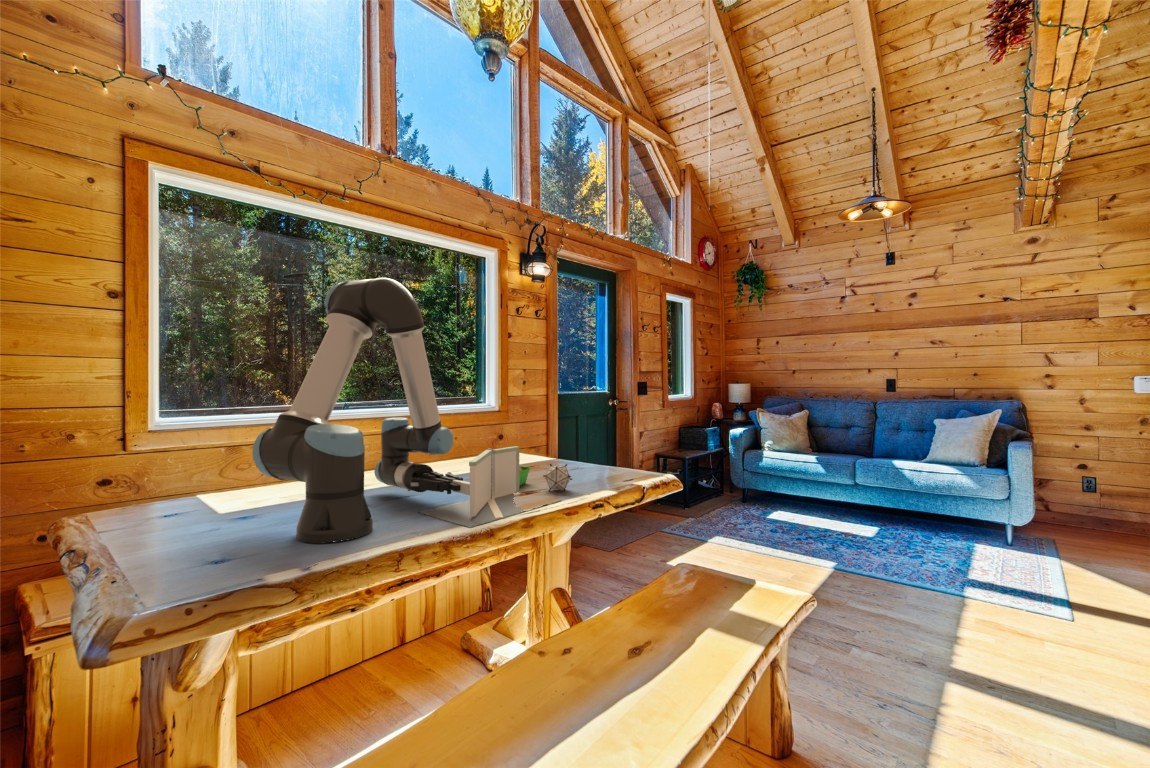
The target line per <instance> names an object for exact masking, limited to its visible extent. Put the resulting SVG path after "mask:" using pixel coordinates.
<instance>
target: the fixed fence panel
mask: <svg viewBox="0 0 1150 768" xmlns="http://www.w3.org/2000/svg"><path fill="white" fill-rule="evenodd" d="M519 466H520V446H517V445H514V446H508V447H500V448H496V449H495V448H494V449H492V496H493V497H497V496H501V495H505V494H509V493H513V492H520V486H519Z"/></svg>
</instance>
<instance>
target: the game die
mask: <svg viewBox="0 0 1150 768" xmlns="http://www.w3.org/2000/svg"><path fill="white" fill-rule="evenodd" d="M549 466H550V467H549V469H548V471H547V472H546V474H543V475H542V477H543V478H544V479H545V480H546V483H547V485H548V488H549V489H548V490H549V492H551V490H559V491H560V490H563V491H564V492H565V491H566V492H567V489H566V488H567V486H568V484H569V482H570V481H572V480H573V478H572V476H571V475H570V474H569V472H568V469H567V468H568V467H567V466H568V463H566V464H565V465H552V463H549Z"/></svg>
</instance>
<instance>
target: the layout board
mask: <svg viewBox="0 0 1150 768" xmlns="http://www.w3.org/2000/svg"><path fill="white" fill-rule="evenodd" d="M513 493H517V492H513ZM513 493H509V494H505V495H501V496H497V497H493V496H492V498H490V499H489V500H488V502H487V503H486V504H485V505H484V506H483V507H482V509H481V510H480V511H479V512H478V513H477V515H476V516H475V517H470V499H466V500H464V501H458V502H456V503H451V504H446V505H442V506H438V507H437V506H436V507H434V508H429V509H426V510H425V509H424V510H421V511H419V512H420V513H419V514H421V513H422V515H424V514H426V515H425V516H428V517H431V516H432V518H434V517H435V519H437V520H441V521H446V522H448V523H452V524H455V525H459V526H463V527H465V528H469V529H471V528H475V527H478V526H482V525H485V524H488V523H491V522H495V521H499V520H502V519H506V518H509V517H512V515H513V516H515V514H516V515H518V514H517V513H519V514H522V513H521V511H522V512H523V510H522V509H523V508H522V509H521V507H518V508H517V507H515V506H516V504H515V502H514V501H513V500H514V499H513V498H514V497H515V496H514V494H513ZM558 501H560V502H562V499H557V500H556V501H553V504H556V503H559V502H558ZM513 502H514V503H513ZM555 502H556V503H555ZM514 505H515V506H514ZM516 508H517V509H516ZM523 513H524V512H523Z"/></svg>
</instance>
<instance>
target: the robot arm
mask: <svg viewBox="0 0 1150 768" xmlns="http://www.w3.org/2000/svg"><path fill="white" fill-rule="evenodd" d="M324 306H325V313H326V317H325V320H326V322H327V324H328V328H327V330H326V333H325V335H324V337H323V338H322V340H321V343H320V344H319V348H318V349H317V352H316V354H315V355H314V357H313V360H312V362H311V364H310V366H309V368H308V370H307V373H306V375H305V377H304V379H303V381H302V384H301V385H300V388H299V390H298V391H297V394H296V396H295V398H294V400H293V401H292V404H291V406H290V409H289V410H286V411H284V412H282V413H280V414H279V415H278V417H277V419H276V421H275V423H274V425H273V426H271V427H269V428H267V429H265V430H263V431H262V432H260V433H259V435H257V436H256V438H255V440H254V442H253V446H252V451H251V452H252V453H251V454H252V459H253V460H252V461H254V464H255V466H256V468H257V470H258V471H259V472H260V473H262V475H265V476H266V477H268V478H273V479H277V480H278V481H279V480H280V481H293V482H294V481H295V482H301V483H305V502H304V505H303V508H302V510H301V513H300V516H299V520H298V522H297V526H296V539H297V540H298V541H300V540H301V541H300V542H302V541H304V542H303V543H307V542H311V543H310V544H323V543H322V542H333V541H341V540H346V541H348V540H347V539H351V540H353V539H352V538H355V539H357V538H356V537H358V538H360V537H359V536H361V537H364V536H366V535H368V534H369V533H371V532H372V530H373V529H374V527H373V525H374V524H373V523H374V522H373V517H372V514H371V511H370V508H369V505H368V503H367V499H366V497H365V454H366V453H365V452H366V446H365V442H364V434H363V432H362V431H361V430H360V429H359V428H357V427H354V426H350V425H344V424H333V423H328V422H329V419H330V417H331V415H332V412H333V410H334V408H335V406H336V403H337V401H338V399H339V396H340V394H341V391H342V390H343V387H344V384H346V383H345V382H346V381H347V379H348V376H349V373H350V371H351V369H352V367H353V364H354V362H355V360H356V357H357V356H358V355H357V354H358V353H359V351H360V348H361V345H362V343H363V341H364V340H367V339H370V338H371V337H372V336H373V334H374V332H375V329H376V327H377V325H383V326H384V329H385V334H386V335H387V336H389V337H390V338H391V340H392V343H393V349H394V352H395V357H396V361H397V366H398V370H399V375H400V377H401V382H402V385H403V390H404V395H405V399H406V403H407V407H408V412H409V415H410V420H411V424H412V425H411V424H410V420H409V419H408V418H407V417H387V418H384V419H383V420H382V421H381V430H380V437H381V439H380V441H381V443H380V444H381V446H380V447H381V457H380V459H379V460H378V461H377V463H376V465H375V467H374V476H375V479H377V480H378V481H379V482H380V483H383V484H385V485H387V486H391V487H392V486H393V487H397V488H400V489H401V488H402V489H404V490H405V489H406V491H407V492H410V491H413V492H417V493H424V492H426V491H430V492H436V493H437V492H439V493H443V492H445V491H446V494H447V495H451V494H452V492H454V493H458V494H464V495H467V496H470V481H465V480H464V478H463V477H462V476H459V475H456V474H453V473H452V472H450V471H448V472H446V473H445V475H444V474H443V473H439V472H437V471H434V470H433V468H432V467H431V466H430V465H428V464H424V463H419V462H413V461H410V453H415V454H417V453H418V454H427V455H434V456H435V455H445V454H448V453H449V452H450V451H451V449H452V447H453V444H454V434H453V432H452V431H451V429H450V428H448V427H445V426H442V422H441V421H442V420H441V417H440V413H439V407H438V403H437V398H436V394H435V390H434V384H433V381H432V380H433V378H432V375H431V371H430V366H429V362H428V361H429V360H428V356H427V351H426V347H425V342H424V337H423V333H422V332H423V331H424V329H425V323H424V318H423V314H422V312H421V310H420V307H419V305H418V302H417V300H416V299H415V298H414V296H413V295H412V293H411V292H410V291H409V290H408V289H407V288H406V287H405V286H404V285H403V284H402V283H400V282H399V281H397V280H395V279H392V278H388V277H377V278H367V279H357V280H355V279H349V280H344V281H343V282H339V283H336V284H335V285H333V286H332V287H330V289H329V290H328V291H327V293H326V295H325V299H324ZM370 531H371V532H370ZM367 533H368V534H367ZM365 534H366V535H365ZM363 535H364V536H363ZM341 542H342V541H341ZM333 543H334V542H333Z"/></svg>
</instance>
